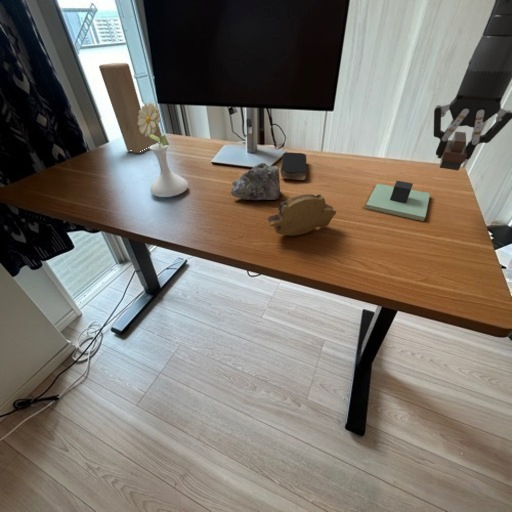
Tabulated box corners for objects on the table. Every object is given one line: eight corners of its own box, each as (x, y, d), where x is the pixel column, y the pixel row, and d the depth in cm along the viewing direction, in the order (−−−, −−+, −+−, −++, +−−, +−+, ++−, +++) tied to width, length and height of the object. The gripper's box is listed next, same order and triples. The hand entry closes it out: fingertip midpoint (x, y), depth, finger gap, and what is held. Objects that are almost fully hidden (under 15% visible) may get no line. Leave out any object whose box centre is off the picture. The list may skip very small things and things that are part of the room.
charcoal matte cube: (408, 197, 73) (413, 183, 70) (405, 203, 70) (411, 189, 68) (392, 193, 75) (396, 180, 72) (389, 200, 72) (394, 186, 69)
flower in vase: (147, 190, 85) (118, 100, 68) (181, 180, 89) (161, 94, 73) (159, 207, 76) (129, 108, 60) (197, 195, 80) (178, 101, 64)
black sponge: (282, 162, 98) (282, 152, 96) (305, 162, 97) (306, 152, 95) (279, 181, 86) (280, 170, 84) (306, 182, 85) (307, 171, 83)
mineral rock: (229, 200, 78) (226, 166, 71) (247, 185, 85) (245, 153, 78) (270, 209, 73) (270, 174, 66) (285, 192, 80) (286, 159, 74)
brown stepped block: (459, 170, 58) (472, 144, 54) (438, 167, 59) (449, 141, 56) (459, 156, 64) (471, 131, 60) (440, 154, 65) (450, 129, 61)
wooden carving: (324, 219, 68) (329, 182, 62) (334, 228, 65) (341, 190, 59) (264, 235, 64) (264, 197, 57) (273, 246, 61) (273, 207, 54)
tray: (428, 197, 75) (430, 193, 74) (423, 221, 66) (425, 217, 65) (376, 187, 81) (377, 183, 80) (365, 208, 72) (366, 204, 71)
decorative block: (141, 154, 110) (113, 65, 91) (127, 152, 113) (97, 65, 93) (164, 142, 121) (143, 60, 101) (150, 141, 123) (128, 60, 104)
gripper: (447, 68, 50) (414, 159, 61) (545, 70, 44) (490, 170, 56) (448, 63, 55) (417, 149, 66) (537, 65, 49) (487, 158, 61)
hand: (451, 158), depth 61 cm, fingers closed on brown stepped block, 4 cm apart
